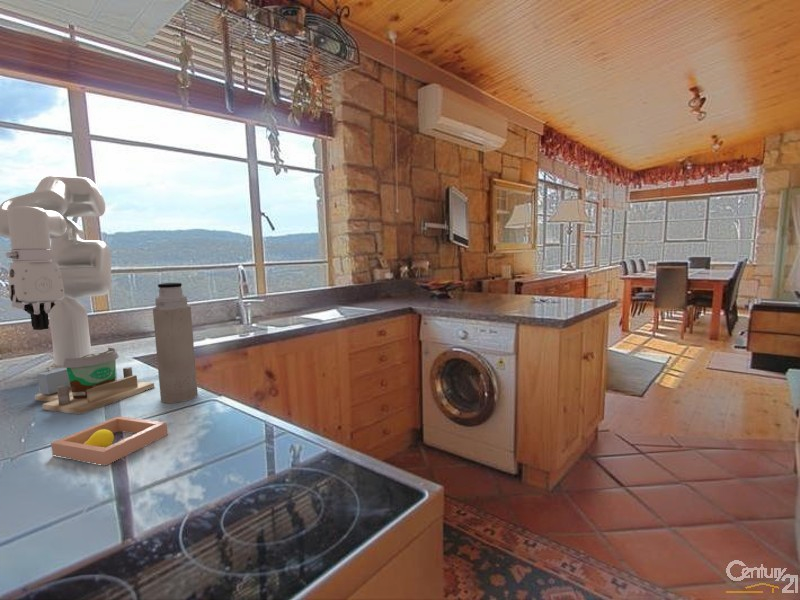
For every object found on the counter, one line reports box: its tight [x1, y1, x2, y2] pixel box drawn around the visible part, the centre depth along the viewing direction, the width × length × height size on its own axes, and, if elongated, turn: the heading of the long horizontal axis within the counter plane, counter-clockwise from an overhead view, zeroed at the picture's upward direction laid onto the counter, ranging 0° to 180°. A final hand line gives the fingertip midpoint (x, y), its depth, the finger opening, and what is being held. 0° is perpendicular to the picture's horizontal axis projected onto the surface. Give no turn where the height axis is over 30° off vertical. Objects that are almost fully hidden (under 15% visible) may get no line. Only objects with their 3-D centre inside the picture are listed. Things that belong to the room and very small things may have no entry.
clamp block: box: [37, 368, 71, 395], centre depth 107 cm, size 3×10×5 cm, turn 162°
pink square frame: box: [50, 415, 169, 466], centre depth 77 cm, size 12×12×2 cm
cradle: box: [34, 366, 155, 415], centre depth 104 cm, size 21×19×5 cm
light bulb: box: [84, 429, 115, 448], centre depth 75 cm, size 3×6×4 cm, turn 136°
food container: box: [63, 347, 119, 399], centre depth 103 cm, size 12×6×10 cm, turn 167°
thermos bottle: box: [152, 282, 199, 404], centre depth 101 cm, size 8×8×28 cm
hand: (41, 329), depth 107 cm, fingers closed
